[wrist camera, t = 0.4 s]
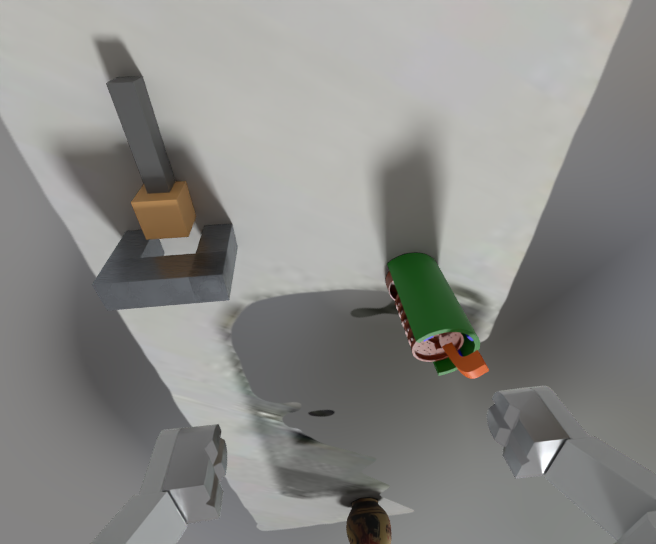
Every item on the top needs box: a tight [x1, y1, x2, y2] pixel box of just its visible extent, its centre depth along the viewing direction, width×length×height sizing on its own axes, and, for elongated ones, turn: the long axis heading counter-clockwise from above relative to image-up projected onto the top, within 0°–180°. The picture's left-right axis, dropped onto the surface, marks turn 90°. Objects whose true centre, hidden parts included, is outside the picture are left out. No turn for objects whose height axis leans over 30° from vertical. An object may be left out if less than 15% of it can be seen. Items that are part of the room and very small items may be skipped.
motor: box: [386, 253, 489, 379], centre depth 49 cm, size 10×9×20 cm
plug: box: [106, 76, 196, 240], centre depth 38 cm, size 16×5×5 cm, turn 1°
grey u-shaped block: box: [92, 224, 237, 310], centre depth 43 cm, size 4×14×11 cm, turn 91°
